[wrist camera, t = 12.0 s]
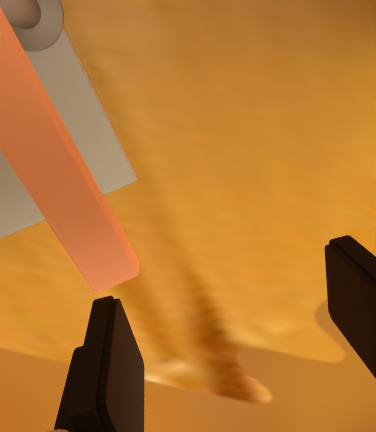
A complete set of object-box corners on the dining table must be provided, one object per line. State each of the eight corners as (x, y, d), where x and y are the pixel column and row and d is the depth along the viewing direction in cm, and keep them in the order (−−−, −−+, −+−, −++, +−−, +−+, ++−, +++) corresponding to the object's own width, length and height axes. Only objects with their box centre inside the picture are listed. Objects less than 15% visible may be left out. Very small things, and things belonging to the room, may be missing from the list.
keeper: (-135, -65, 12) (-179, -87, 10) (-42, -110, 12) (-73, -140, 10) (88, 280, 18) (82, 300, 17) (149, 254, 18) (149, 273, 16)
